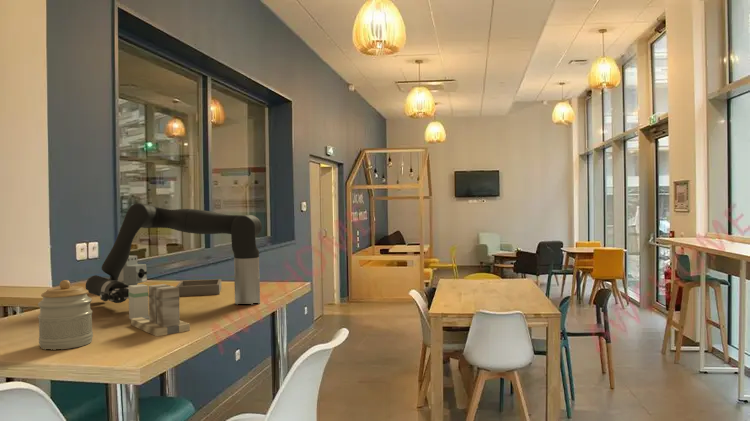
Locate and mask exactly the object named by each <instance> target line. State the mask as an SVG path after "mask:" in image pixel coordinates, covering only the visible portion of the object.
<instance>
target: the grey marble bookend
mask: <svg viewBox="0 0 750 421" xmlns="http://www.w3.org/2000/svg"><path fill="white" fill-rule="evenodd" d="M148 311H149V316H146V317H139V318H132V319H130V326H132V327H135V328H137V329H139V330H141V331H143V332H146V333H148V334H150V335H152V336H155V337H161V336H165V335H167V336H168V335H171V334H177V333H183V332H184V333H185V332H189V331H190V330H191V328H190V327H191V324H190V323H189V322H186V321H183V320H180V318H181V317H180V315H181V314H180V313H181V312H180V296H179V288H178V287H176V286H173V285H169V284H165V283H162V284H152V285H148Z"/></svg>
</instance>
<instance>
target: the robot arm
mask: <svg viewBox="0 0 750 421" xmlns="http://www.w3.org/2000/svg"><path fill="white" fill-rule="evenodd" d="M141 228H142V229H155V228H156V229H159V228H161V229H170V230H175V231H178V232H182V233H187V234H197V235H215V234H216V235H218V234H224V235H225V234H226V235H227V234H228V235H230V236H231V237H230V239H231V248H232V252H233V263H234V266H233V267H234V268H233V269H234V270H233V271H234V304H235V305H238V304H251V305H254V304H253V303H258V304H261V284H260V283H261V280H260V250H259V249H258V247H257V241H256V237H257V236H258V235H260V234H261V231H262V229H263V225H262V222H261V220H260V219H259V218H258V217H256V216H255V215H254V214H225V213H220V212H215V211H209V210H202V209H197V208H195V209H194V208H179V209H178V208H177V209H168V208H163V207H159V206H154V205H151V204H147V203H142V202H141V203H140V202H139V203H138V202H137V203H134V204H132V205H131V206H129V208H128V209H127V212H126V214H125V216H124V218H123V222H122V224H121V227H120V228H119V231H118V235H117V236H116V240H115V242H114V244H113V245H112V248H111V249H110V251H109V253H108V254H107V257H106V258H105V260H104V262H103V263H102V264H101V270H102V271H103V273H105V274H107V275H108V276H110V277H109V278H106V277H104V276H103V277H102V276H101V275H96V274H95V275H92V276H90V277H89V278H87V280H86V282H85V289H86V290H88V291H89V292H88V293H89V294H92V295H95V296H98V297H100V298H99V299H100V301H101V300H102V301H103V302H108V301H109V302H112V303H115V304H120V303H121V304H122V303H123V302H125V301H126V300H127V299H128V300H129V294H128V292H129V287H128V285H127V284H125V283H123V282H120V281H118V278H119V275H120V272H121V271H122V269H123V267H124V265H125V264H126V262H127V260H128V258H129V256H131V249H132V245H133V241H134V239H135V236H136V235H137V234H138V232H139V231H140V229H141Z"/></svg>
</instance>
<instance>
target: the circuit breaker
mask: <svg viewBox="0 0 750 421" xmlns="http://www.w3.org/2000/svg"><path fill="white" fill-rule="evenodd" d="M147 274H148V270H147V264H146V263H144V264H143V263H138V255H129V258H128V260H127V262H126V264H125V265H124V267H123V269H122V271H121V272H120V275H119V278H118V281H120V282H123V283H125V284H127V285H128V287H129V286H130V285H139V284H140V283H141V284H142V283H144V282H148V278H147V277H148V275H147Z"/></svg>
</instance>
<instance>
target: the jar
mask: <svg viewBox="0 0 750 421" xmlns="http://www.w3.org/2000/svg"><path fill="white" fill-rule="evenodd" d="M88 293H89V291H88V290H86V288H84V287H83V286H78V285H77V286H76V285H75V286H74V285H72V286H71V282H70V281H69V279H64V280H61V281H60V282H59V287H58V286H57V287H52V288H48V289H46V290H45V291H44V292H43V293H41V295H40V296H41V297H42V299H41V300H40V301H39V302H38V303H37V306H38V307H39V314H38V315H37V318H38V331H39V332H38V334H39V336H38V345H39V348H40V347H41V348H40V349H42V348H43V349H42V350H46V349H51V350H50V351H57V350H56V349H61V350H67V349H69V350H70V349H74V348H79V347H84V346H87V345H89V344H90V343H92V342H93V337H94V332H93V318H92V317H93V309H91V302H92V301H93V298H92V297H90V296H88ZM52 349H53V350H52Z"/></svg>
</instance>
